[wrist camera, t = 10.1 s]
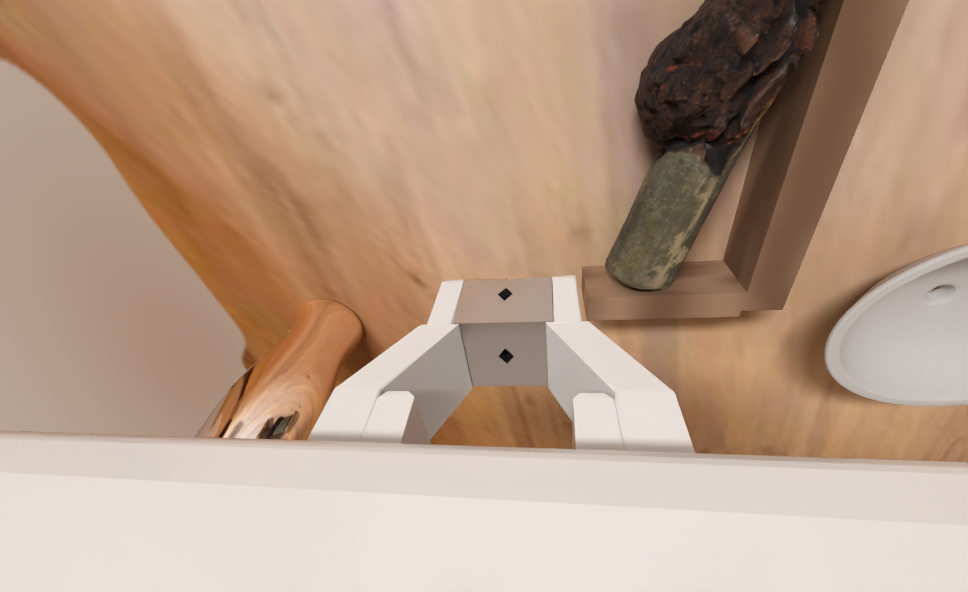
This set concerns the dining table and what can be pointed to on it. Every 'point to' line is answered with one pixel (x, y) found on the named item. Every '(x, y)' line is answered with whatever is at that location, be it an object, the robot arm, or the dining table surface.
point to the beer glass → (289, 378)
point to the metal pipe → (704, 122)
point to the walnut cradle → (775, 178)
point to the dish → (908, 335)
